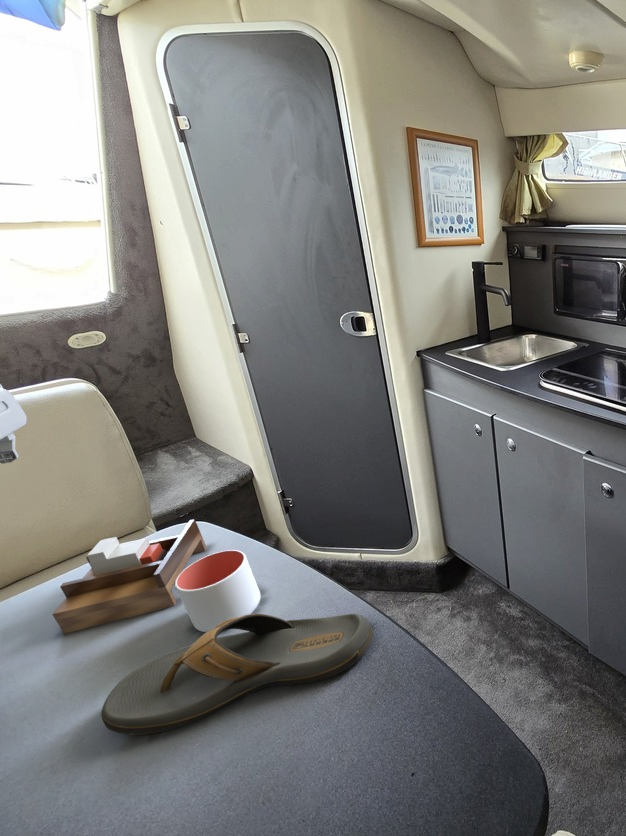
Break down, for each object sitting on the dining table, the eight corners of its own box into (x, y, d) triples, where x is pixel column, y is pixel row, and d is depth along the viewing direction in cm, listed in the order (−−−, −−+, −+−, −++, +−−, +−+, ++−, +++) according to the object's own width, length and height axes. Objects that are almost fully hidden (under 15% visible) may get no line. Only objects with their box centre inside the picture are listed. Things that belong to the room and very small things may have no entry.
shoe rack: (65, 636, 85) (43, 600, 83) (115, 571, 100) (98, 539, 97) (175, 607, 90) (159, 573, 87) (208, 549, 105) (195, 519, 102)
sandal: (155, 663, 80) (131, 620, 76) (380, 615, 87) (368, 573, 83) (95, 752, 67) (64, 705, 63) (365, 687, 74) (350, 641, 70)
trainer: (96, 584, 90) (82, 557, 88) (111, 566, 94) (97, 540, 92) (156, 570, 93) (143, 543, 90) (167, 553, 97) (156, 527, 95)
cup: (209, 600, 92) (190, 557, 88) (269, 586, 94) (253, 544, 91) (184, 643, 83) (162, 597, 79) (252, 626, 86) (233, 582, 82)
